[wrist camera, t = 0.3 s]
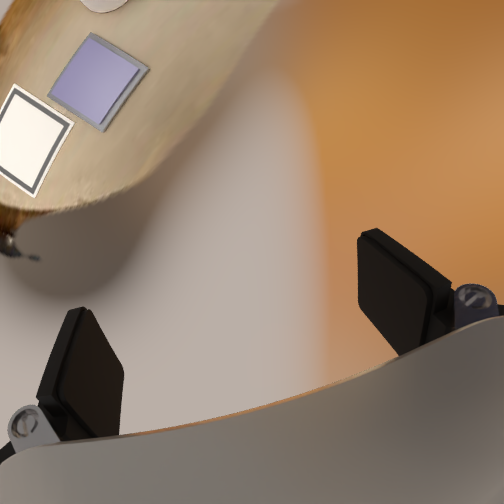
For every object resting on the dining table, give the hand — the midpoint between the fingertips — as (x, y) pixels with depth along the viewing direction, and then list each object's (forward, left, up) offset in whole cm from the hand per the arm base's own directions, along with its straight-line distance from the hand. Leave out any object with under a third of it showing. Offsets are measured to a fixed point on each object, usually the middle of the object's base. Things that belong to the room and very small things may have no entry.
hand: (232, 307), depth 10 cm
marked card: (-8, -21, -30) cm, 38 cm away
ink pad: (-12, -10, -30) cm, 34 cm away
